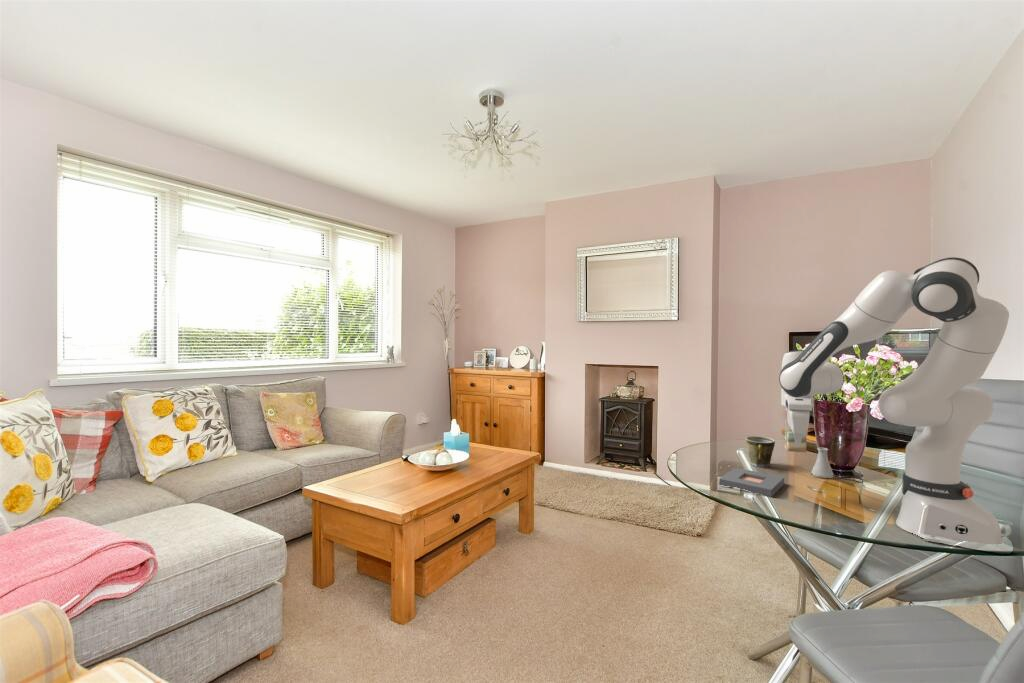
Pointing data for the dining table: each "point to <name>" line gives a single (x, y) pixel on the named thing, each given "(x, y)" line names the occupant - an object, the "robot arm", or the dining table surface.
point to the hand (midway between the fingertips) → (796, 443)
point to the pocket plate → (753, 481)
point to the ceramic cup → (760, 450)
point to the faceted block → (790, 442)
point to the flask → (822, 465)
